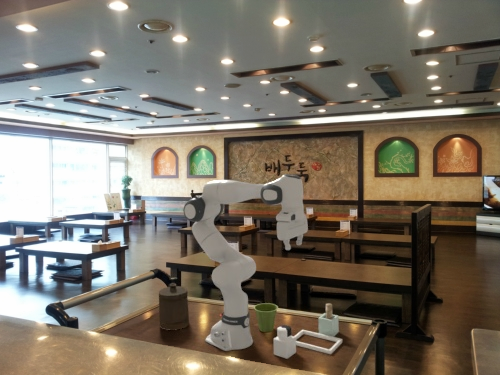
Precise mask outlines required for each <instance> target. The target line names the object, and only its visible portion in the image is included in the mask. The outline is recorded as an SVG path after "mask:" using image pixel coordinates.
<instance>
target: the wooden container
mask: <svg viewBox="0 0 500 375" xmlns="http://www.w3.org/2000/svg"><path fill="white" fill-rule="evenodd" d="M188 296H189V294H188V288H187V287H185V286H181V285H179V286H178V285H177V284H176V283H175V282H171V283H169V286H166V287H164V288H161V289H160V290H158V312H159V315H158V317H159V327H160V326H161V327H162V328H165V329H170V330H175V329H180V330H183V329H185V328H187V327H188V326H189V324H190V317H189V315H190V314H189V301H188V300H189V298H188ZM182 328H183V329H182ZM175 331H176V330H175Z"/></svg>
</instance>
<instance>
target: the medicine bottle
mask: <svg viewBox="0 0 500 375" xmlns="http://www.w3.org/2000/svg"><path fill="white" fill-rule="evenodd" d="M276 332H277V333H276V334H277V336H276V337H274V338H273V339H272V341H273V355H275V356H277V357H281V358H283V359H287V360H288V359H290V358H291V357H292V356H293V355H294V354H296V353H297V345H296V341H297V340H296V337H294V336H295V335H294V336H293V335H292V327H291V326H290V325H287V324H282V325H279V326H277V328H276Z"/></svg>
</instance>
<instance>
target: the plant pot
mask: <svg viewBox="0 0 500 375" xmlns="http://www.w3.org/2000/svg"><path fill="white" fill-rule="evenodd" d="M253 309H254V310H255V316H256V318H257V319H256V320H257V326H258V330H259V332H262V333H267V332H269V333H271V332H272V331H274V329H275V328H274V327H275V323H276V322H275V321H276V314H277V311H278V309H279V306H278V305H276V304H275V303H270V302H268V303H267V302H265V303H258V304H256V305H254V306H253Z"/></svg>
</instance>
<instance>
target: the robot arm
mask: <svg viewBox="0 0 500 375" xmlns="http://www.w3.org/2000/svg"><path fill="white" fill-rule="evenodd" d="M303 184H304V183H303V181H302V178H301V177H300V175H297V174H294V173H293V174H292V173H285V174H283V175H282V176H281V177H279V178H277V179H276V180H275V179H274V180H273V181H271V182H267V183H251V182H244V181H240V180H239V181H238V180H233V179H217V180H216V179H215V180H211V181H208V182H206V183H205V184H204V186H203V187H202V193H201V195H195V196H194V197H193V198H191V199H189V200H188V201H186V203H184V206H183V209H182V210H183V216H184V217H185V219H186V220H187V221H188V222H193V224H192V226H191V233H192V234H193V237H194V238H195V240H196V242H197V243H198V245H199V246H200V247H201V249H202V251H204V253H205V254H206V256H207V257H208V259H210V260H212V261H214V262H217V263H219V265H217V267H215V268H214V269H213V270H212V274H211V280H212V282H213V284H214V285H215V287H216V288H218V289H219V290H220V292H221V294H222V295H221V296H222V298H223V310H224V311H222V313H219V317H220V318H221V319H220V320H219V321H217V322H216V323H215V324H214V325H213V326H212V327H211V329H210V333H209V335H207V337H206V338H205V342H206V343H208V344H210V345H211V346H215V347H217V348H218V349H220V350H222V351H225V352H228V351H229V352H230V351H232V350H233V351H234V350H242V349H243V350H244V349H246V348H249V347H250V346H252V345H253V343H254V339H253V337H252V334H251V328H250V311H249V298H248V294H247V293H246V292H244V291H243V290H242V289H243V288H242V286H241V285H242V283H243V282H244V281H247V280H249V279H250V278H251V277H252V276H253V275H254V274H255V273H256V270H257V264H256V262H255V260H254V259H253V257H251V256H248V255H245V254H243V253H242V252H240V251H239V250H237V249H236V248H234V246H232V245H231V244H230V243H229V242H228V241H227V240H226V238H225V237H224V235H222V233H221V232H220V231H219V229H218V227H216V225H215V222H217V221H218V220H219V218H220V216H221V215H222V213H223V212H224V208H225V205H233V204H238V203H242V202H246V201H249V200H252V199H253V200H254V199H261V201H262V202H263V203H264V204H265V205H268V206H276V205H281V210H279V213H277V214H276V216H275V219H276V221H277V223H276V236H277V239H278V240H279V241H283V244H284V246H285V247H284V249H285V250H286V251H290V250H291V249H292V245H291V244H290V240H291V239H294V238H297V240H296V241H295V243H296V245H297V246H301V245H302V244H303V238H304V234H306V233H307V232H308V231H309V228H308V227H309V226H308V217H307V216H306V213H305V210H304V209H305V208H304V202H303V198H304V186H303Z"/></svg>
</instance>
